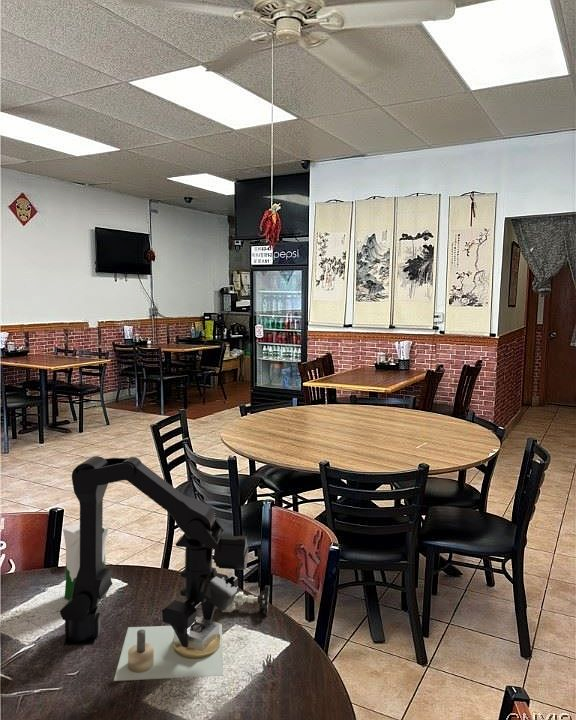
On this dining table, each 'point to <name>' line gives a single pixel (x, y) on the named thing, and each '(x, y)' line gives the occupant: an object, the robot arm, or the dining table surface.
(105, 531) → the milk carton
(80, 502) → the robot arm
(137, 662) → the stand
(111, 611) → the dining table surface
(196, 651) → the bell
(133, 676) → the mat
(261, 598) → the valve
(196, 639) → the square ring
